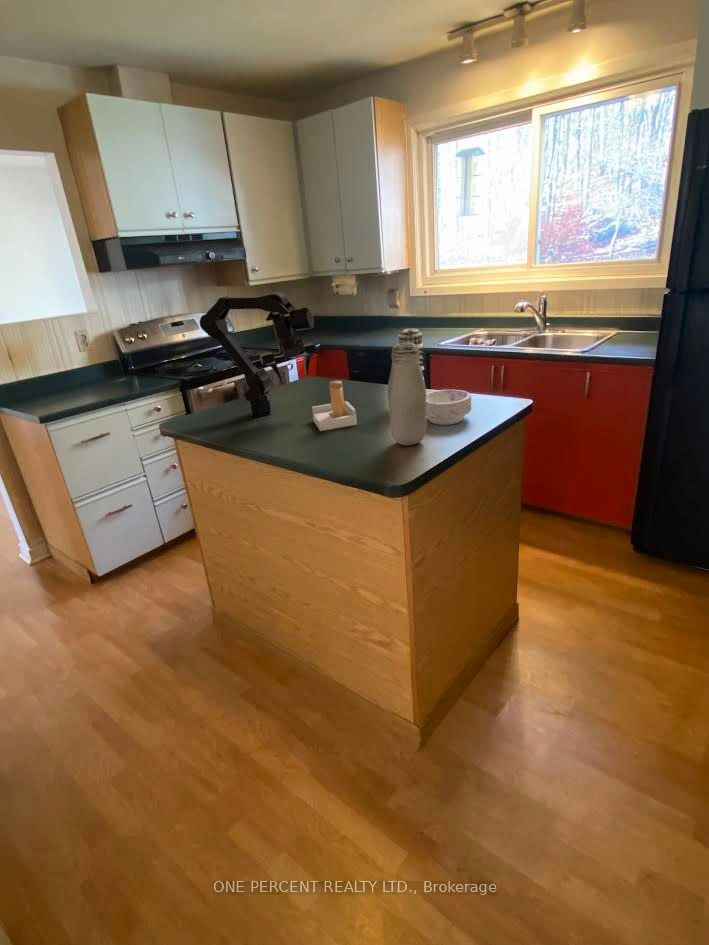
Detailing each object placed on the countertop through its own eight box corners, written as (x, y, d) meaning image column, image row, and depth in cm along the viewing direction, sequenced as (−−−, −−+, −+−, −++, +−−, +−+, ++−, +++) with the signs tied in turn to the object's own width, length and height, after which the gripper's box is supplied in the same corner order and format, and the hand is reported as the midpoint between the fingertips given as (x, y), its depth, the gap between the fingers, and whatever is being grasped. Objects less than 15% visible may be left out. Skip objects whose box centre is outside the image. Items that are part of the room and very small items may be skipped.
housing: (320, 431, 162) (318, 415, 160) (313, 421, 172) (311, 406, 170) (357, 424, 164) (355, 409, 162) (348, 415, 174) (347, 400, 172)
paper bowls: (411, 423, 160) (410, 398, 157) (440, 410, 170) (440, 386, 167) (452, 432, 150) (452, 405, 147) (480, 417, 160) (481, 392, 156)
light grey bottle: (402, 453, 139) (396, 348, 128) (385, 442, 148) (378, 343, 136) (434, 444, 142) (430, 342, 131) (415, 434, 151) (411, 337, 140)
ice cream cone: (339, 425, 165) (334, 384, 159) (331, 423, 168) (326, 383, 162) (348, 422, 167) (344, 381, 162) (340, 420, 170) (336, 380, 164)
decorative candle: (410, 408, 174) (406, 333, 164) (395, 402, 182) (390, 330, 172) (432, 402, 178) (429, 328, 168) (416, 397, 186) (413, 326, 176)
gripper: (259, 340, 161) (271, 389, 167) (316, 328, 165) (325, 376, 171) (255, 337, 171) (266, 383, 177) (309, 326, 175) (318, 371, 181)
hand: (294, 378), depth 176 cm, fingers open, 9 cm apart
